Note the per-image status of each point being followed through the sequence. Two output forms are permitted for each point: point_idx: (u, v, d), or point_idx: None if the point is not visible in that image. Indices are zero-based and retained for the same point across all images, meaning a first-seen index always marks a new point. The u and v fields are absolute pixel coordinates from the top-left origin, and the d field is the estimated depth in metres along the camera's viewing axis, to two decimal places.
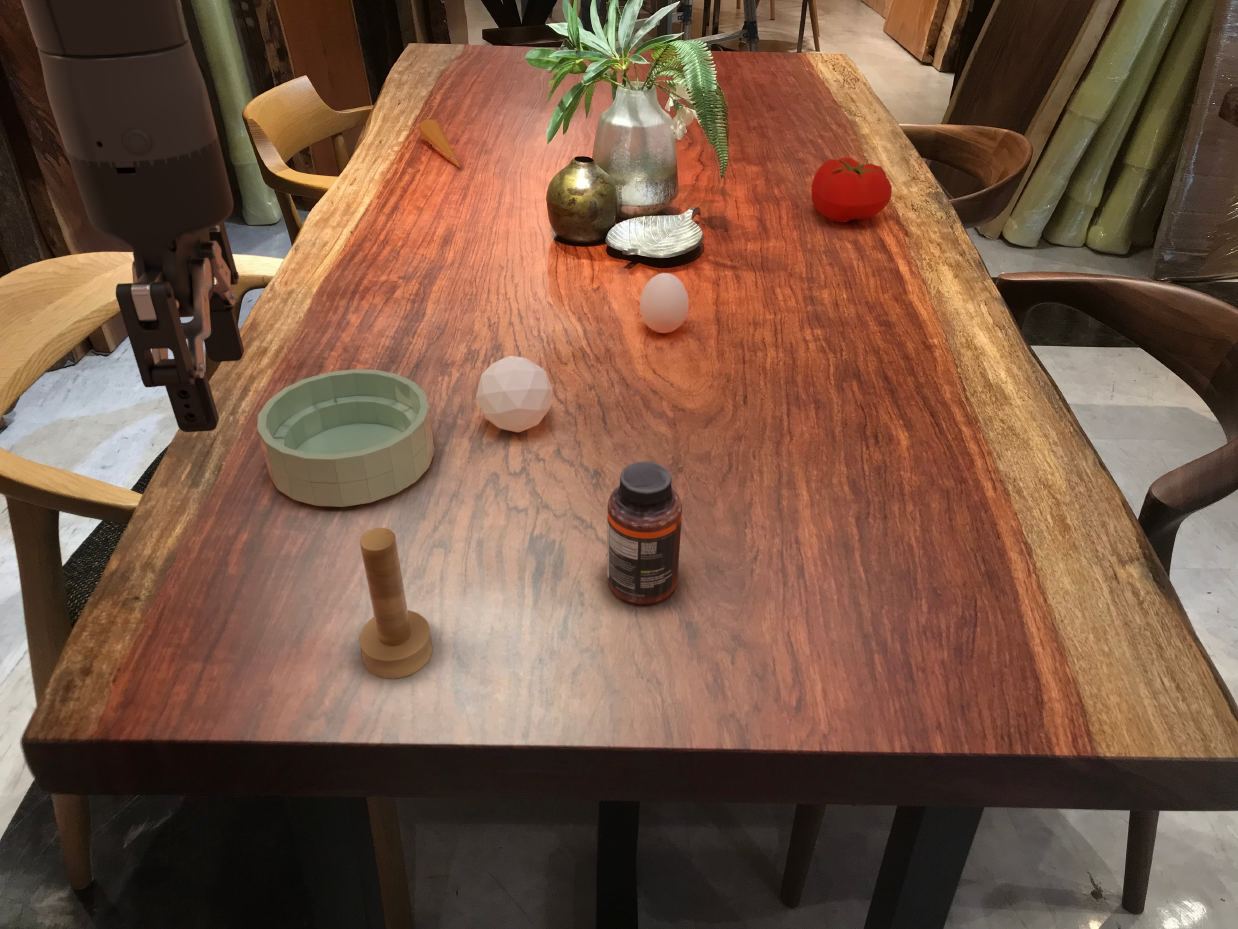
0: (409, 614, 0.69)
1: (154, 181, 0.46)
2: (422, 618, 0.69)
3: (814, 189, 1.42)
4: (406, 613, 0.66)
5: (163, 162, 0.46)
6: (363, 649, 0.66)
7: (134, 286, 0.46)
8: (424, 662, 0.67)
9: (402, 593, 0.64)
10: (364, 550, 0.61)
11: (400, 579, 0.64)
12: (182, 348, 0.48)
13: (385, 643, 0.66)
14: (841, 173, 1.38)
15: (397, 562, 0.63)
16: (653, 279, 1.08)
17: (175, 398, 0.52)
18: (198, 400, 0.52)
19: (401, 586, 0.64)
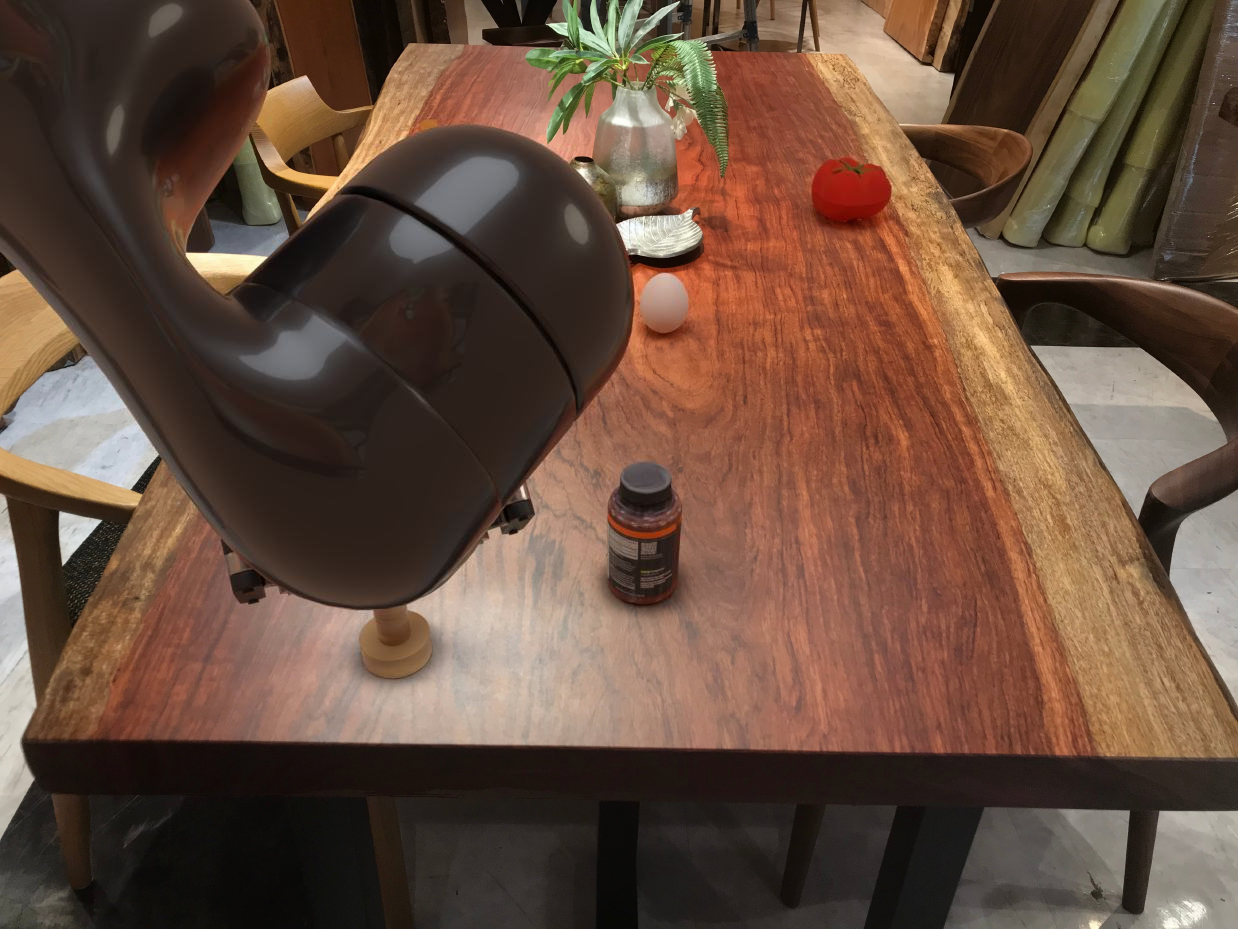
0: (409, 614, 0.69)
1: None
2: (422, 618, 0.69)
3: (814, 189, 1.42)
4: (406, 613, 0.66)
5: None
6: (363, 649, 0.66)
7: (232, 555, 0.38)
8: (424, 662, 0.67)
9: None
10: None
11: None
12: (244, 598, 0.41)
13: (385, 643, 0.66)
14: (841, 173, 1.38)
15: None
16: (653, 279, 1.08)
17: None
18: None
19: None
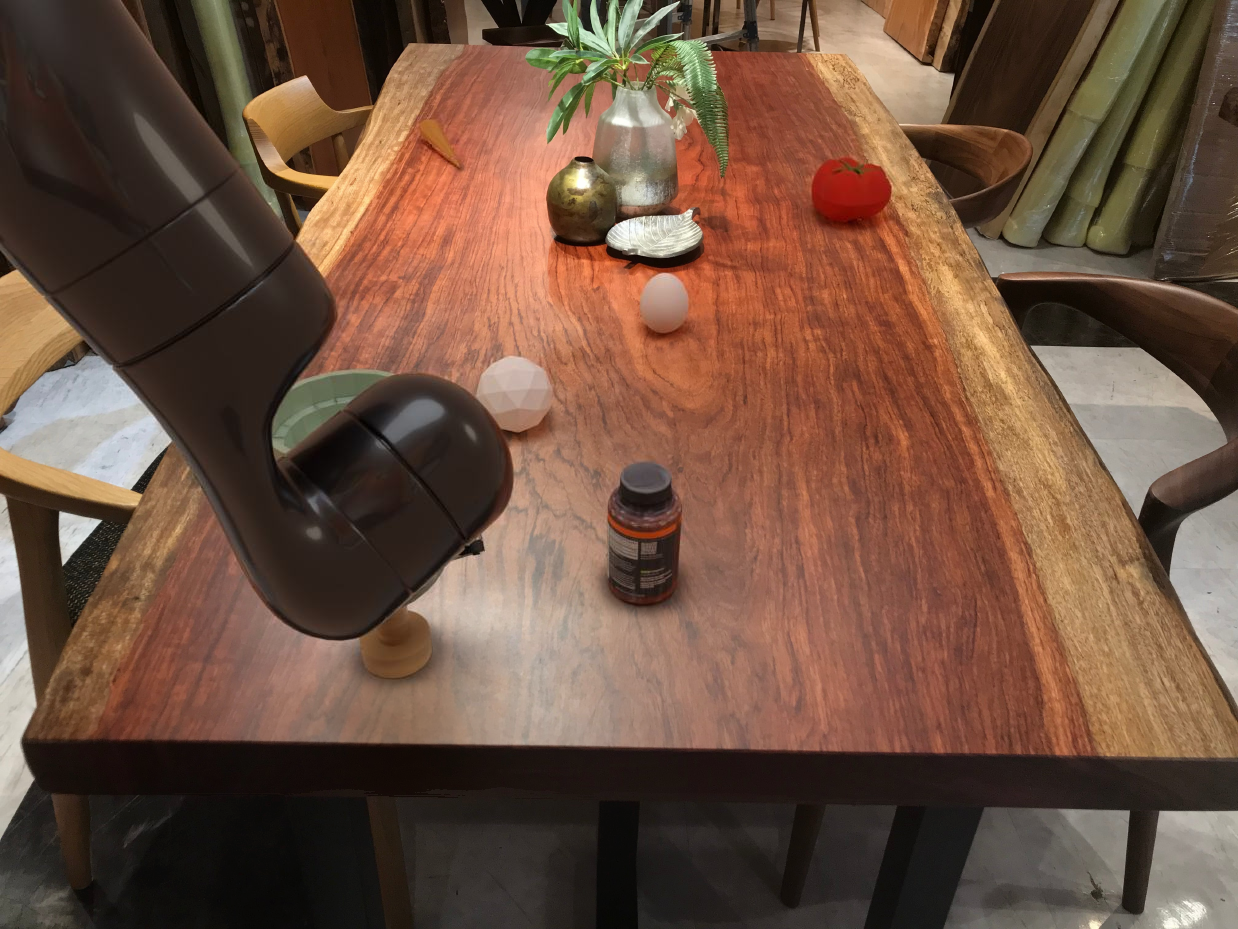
0: (409, 614, 0.69)
1: None
2: (422, 618, 0.69)
3: (814, 189, 1.42)
4: (406, 613, 0.66)
5: None
6: (363, 649, 0.66)
7: None
8: (424, 662, 0.67)
9: None
10: None
11: None
12: None
13: (385, 643, 0.66)
14: (841, 173, 1.38)
15: None
16: (653, 279, 1.08)
17: None
18: None
19: None
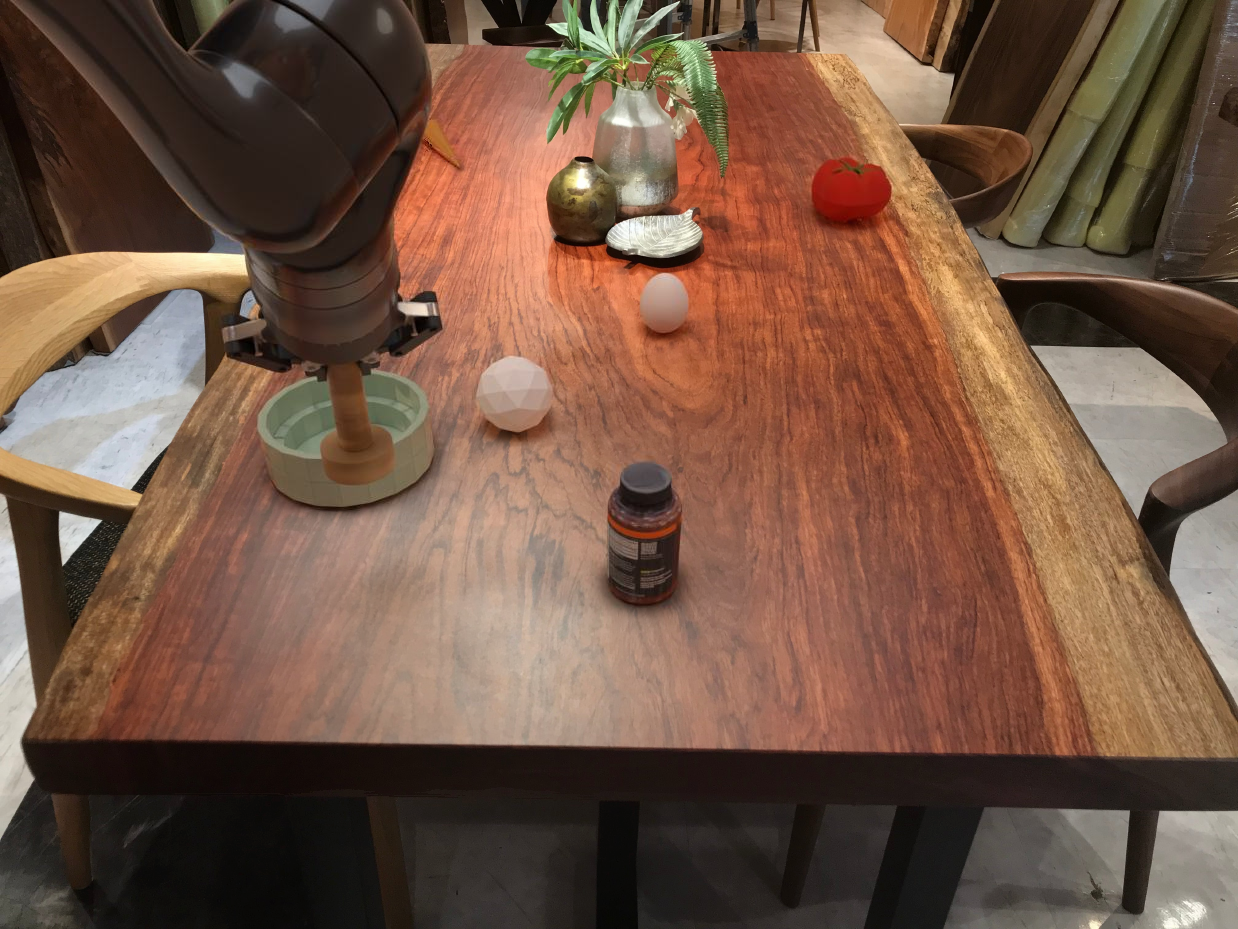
0: (372, 427, 0.68)
1: (264, 312, 0.48)
2: (385, 430, 0.67)
3: (814, 189, 1.42)
4: (367, 417, 0.64)
5: (268, 317, 0.47)
6: (323, 454, 0.65)
7: (224, 330, 0.53)
8: (386, 472, 0.66)
9: (362, 392, 0.63)
10: None
11: (360, 376, 0.62)
12: (263, 366, 0.57)
13: (346, 448, 0.65)
14: (841, 173, 1.38)
15: None
16: (653, 279, 1.08)
17: None
18: None
19: (361, 384, 0.63)
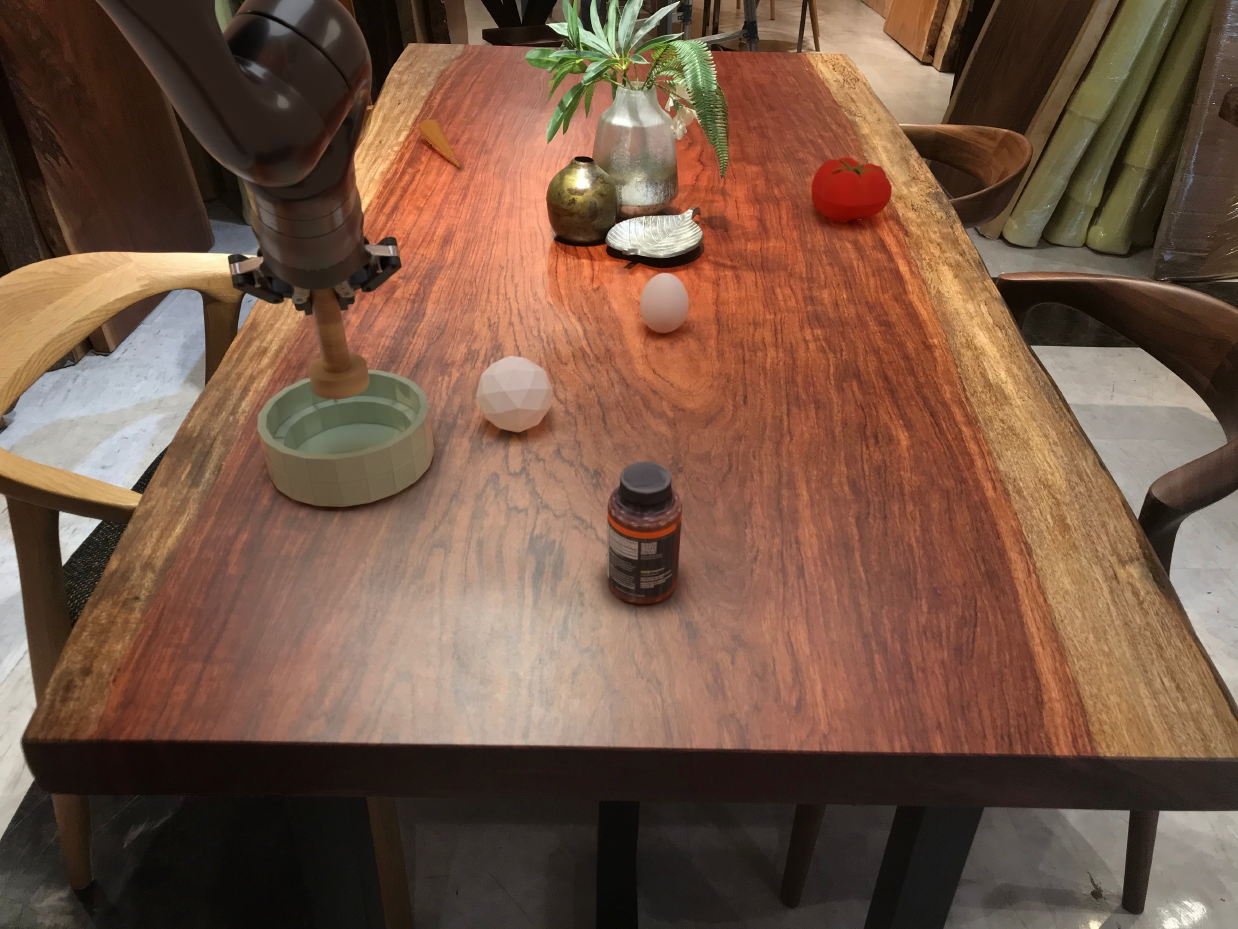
0: (350, 354, 0.83)
1: (261, 246, 0.64)
2: (361, 357, 0.83)
3: (814, 189, 1.42)
4: (345, 343, 0.80)
5: (264, 249, 0.63)
6: (310, 374, 0.80)
7: (230, 266, 0.69)
8: (361, 389, 0.82)
9: (341, 322, 0.79)
10: None
11: (338, 308, 0.78)
12: (261, 297, 0.73)
13: (328, 369, 0.81)
14: (841, 173, 1.38)
15: (335, 292, 0.77)
16: (653, 279, 1.08)
17: None
18: (295, 303, 0.77)
19: (340, 315, 0.78)
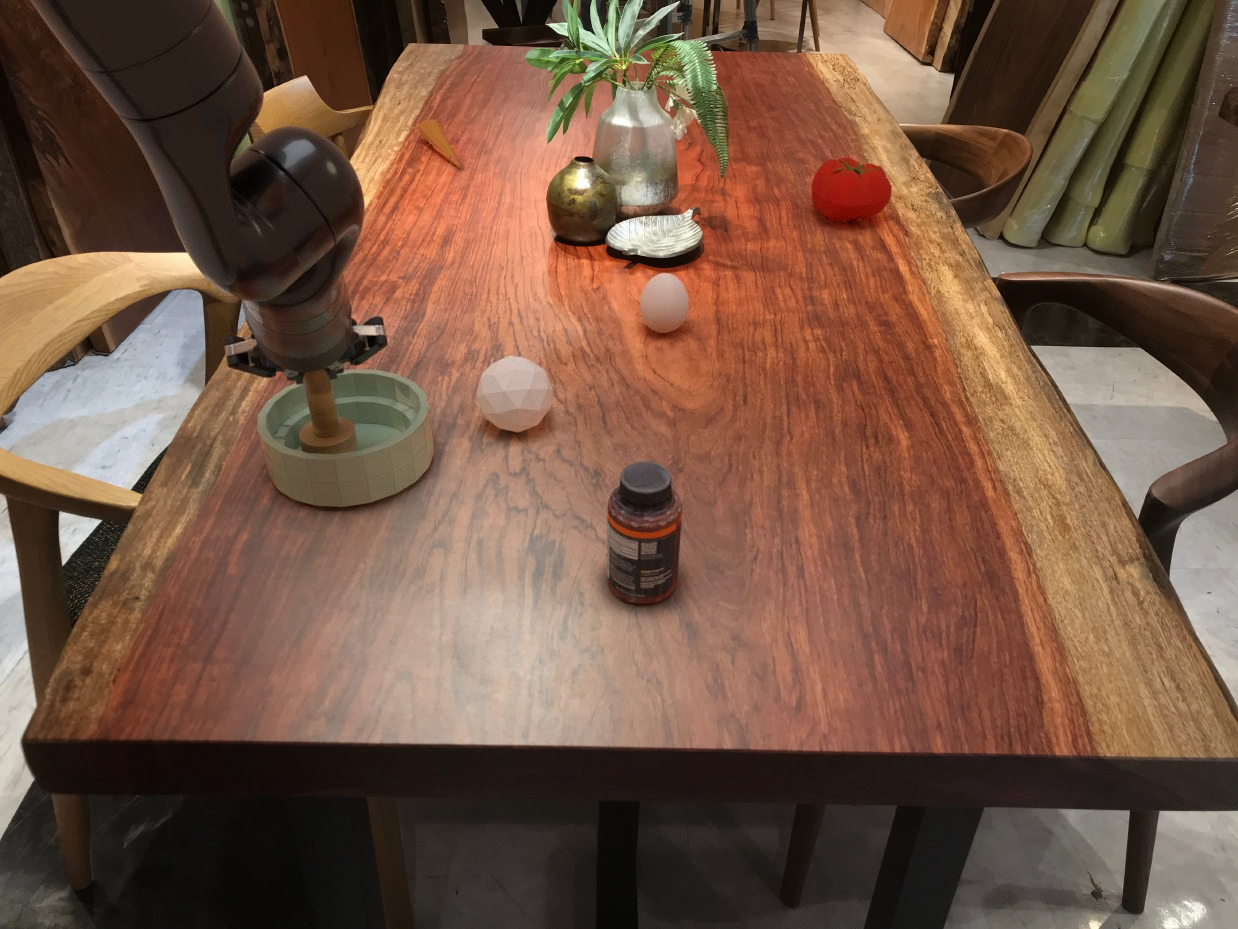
0: (339, 419, 0.88)
1: None
2: (349, 421, 0.87)
3: (814, 189, 1.42)
4: (335, 411, 0.84)
5: (258, 339, 0.67)
6: (301, 439, 0.85)
7: (226, 347, 0.73)
8: None
9: (330, 392, 0.83)
10: None
11: (328, 379, 0.82)
12: (254, 373, 0.77)
13: (318, 435, 0.85)
14: (841, 173, 1.38)
15: None
16: (653, 279, 1.08)
17: None
18: None
19: (329, 385, 0.83)
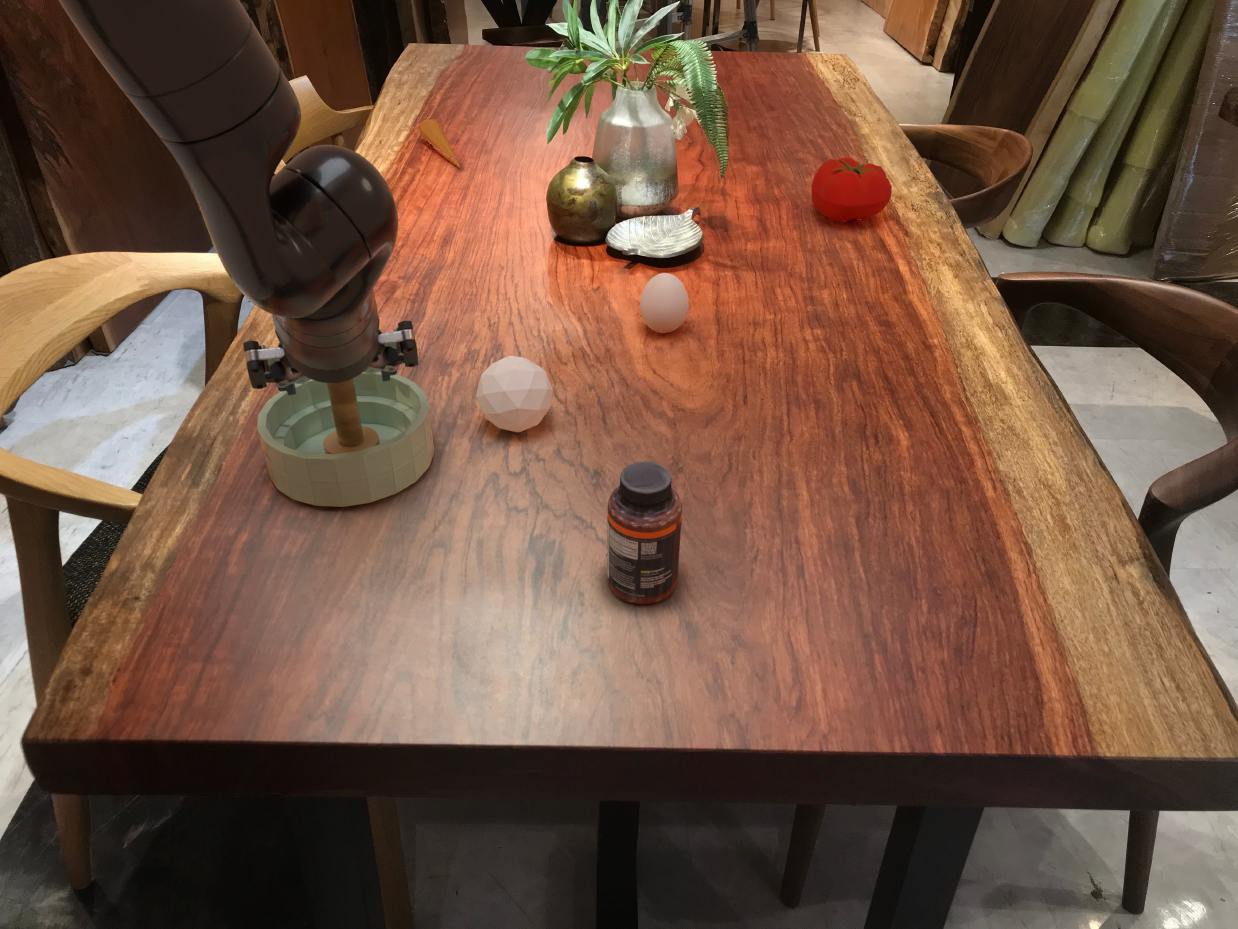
0: (363, 428, 0.88)
1: (284, 347, 0.69)
2: (373, 430, 0.88)
3: (814, 189, 1.42)
4: (359, 420, 0.85)
5: (287, 351, 0.68)
6: (326, 448, 0.85)
7: (248, 351, 0.72)
8: None
9: (355, 402, 0.84)
10: None
11: (353, 389, 0.83)
12: (254, 381, 0.75)
13: (343, 444, 0.86)
14: (841, 173, 1.38)
15: None
16: (653, 279, 1.08)
17: None
18: None
19: (354, 395, 0.83)
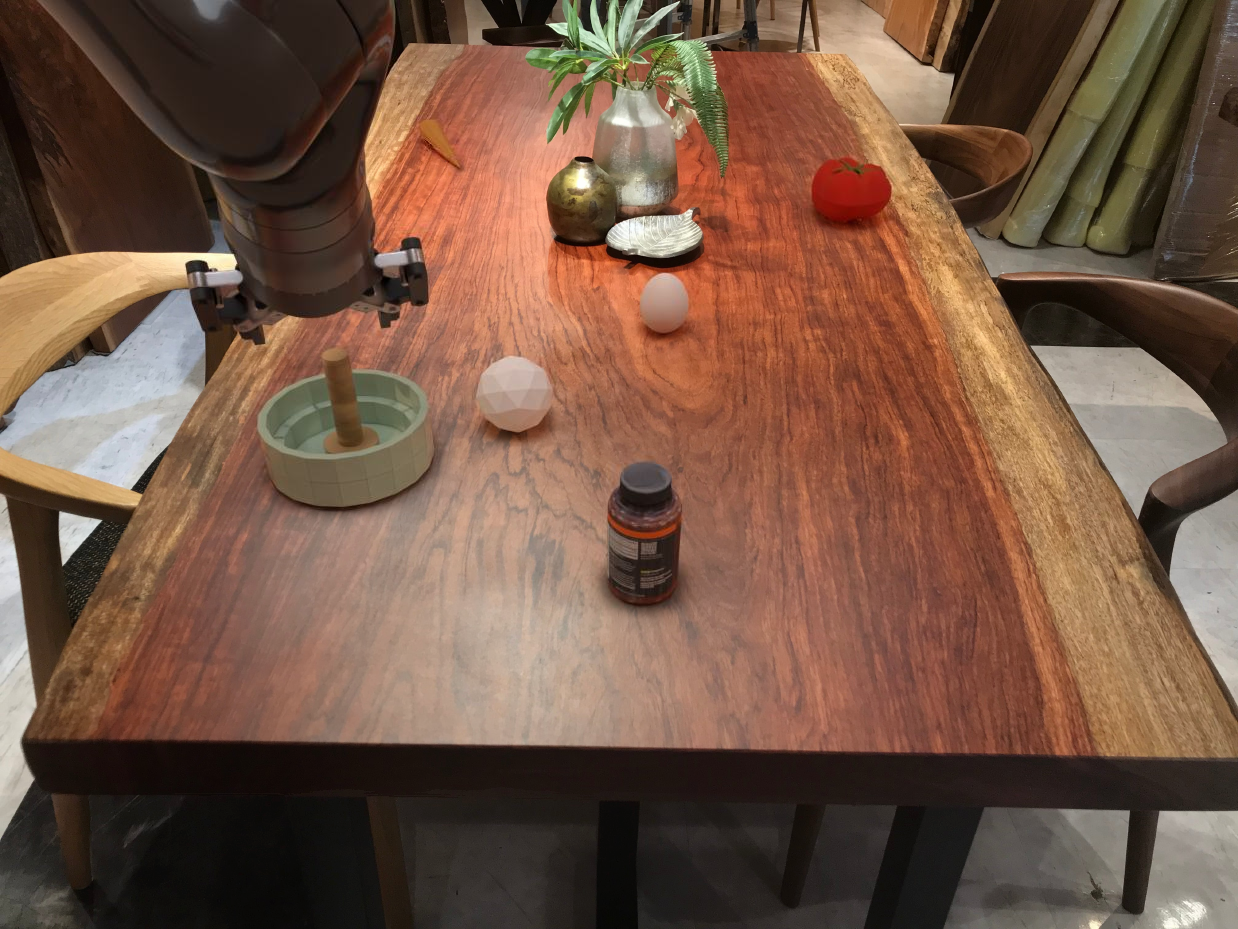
0: (363, 428, 0.88)
1: (238, 262, 0.48)
2: (373, 430, 0.88)
3: (814, 189, 1.42)
4: (359, 420, 0.85)
5: (242, 267, 0.47)
6: (326, 448, 0.85)
7: (192, 275, 0.52)
8: None
9: (355, 402, 0.84)
10: (324, 360, 0.80)
11: (353, 389, 0.83)
12: (204, 320, 0.55)
13: (343, 444, 0.86)
14: (841, 173, 1.38)
15: (351, 374, 0.82)
16: (653, 279, 1.08)
17: None
18: (239, 331, 0.59)
19: (354, 395, 0.83)
